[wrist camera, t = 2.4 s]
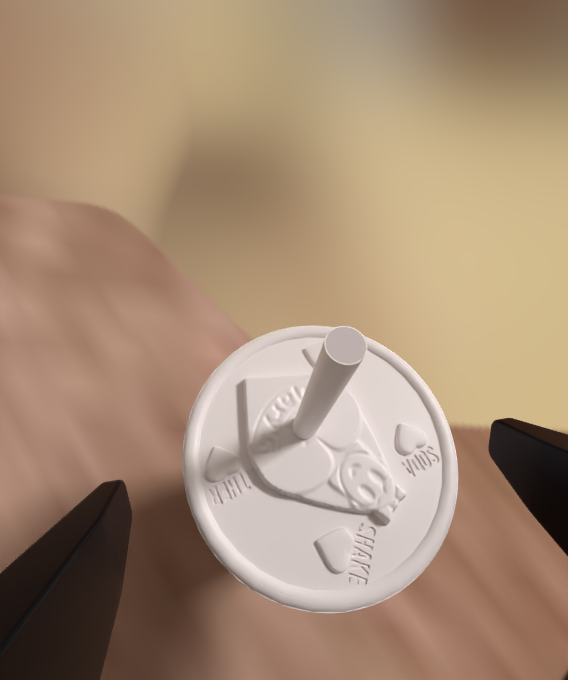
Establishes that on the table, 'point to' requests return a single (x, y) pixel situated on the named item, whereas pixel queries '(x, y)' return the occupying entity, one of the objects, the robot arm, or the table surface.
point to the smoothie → (320, 469)
